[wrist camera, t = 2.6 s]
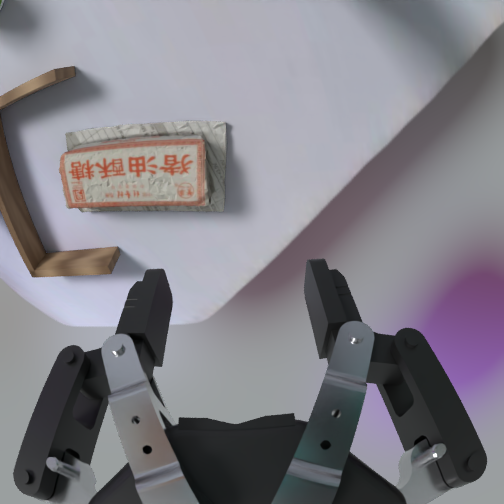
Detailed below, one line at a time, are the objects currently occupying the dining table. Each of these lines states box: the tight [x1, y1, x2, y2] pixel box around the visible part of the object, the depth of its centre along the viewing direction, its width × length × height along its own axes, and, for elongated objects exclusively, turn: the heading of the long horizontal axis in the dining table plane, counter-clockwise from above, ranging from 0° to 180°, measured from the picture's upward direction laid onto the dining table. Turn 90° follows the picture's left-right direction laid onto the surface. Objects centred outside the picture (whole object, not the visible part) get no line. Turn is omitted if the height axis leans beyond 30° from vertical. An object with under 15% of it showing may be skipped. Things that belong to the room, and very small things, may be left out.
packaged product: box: [59, 121, 227, 212], centre depth 27 cm, size 18×5×10 cm
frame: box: [0, 66, 120, 277], centre depth 26 cm, size 14×24×4 cm, turn 3°
